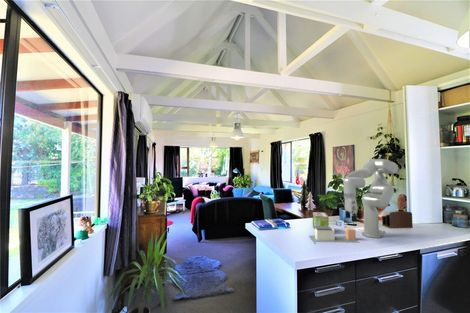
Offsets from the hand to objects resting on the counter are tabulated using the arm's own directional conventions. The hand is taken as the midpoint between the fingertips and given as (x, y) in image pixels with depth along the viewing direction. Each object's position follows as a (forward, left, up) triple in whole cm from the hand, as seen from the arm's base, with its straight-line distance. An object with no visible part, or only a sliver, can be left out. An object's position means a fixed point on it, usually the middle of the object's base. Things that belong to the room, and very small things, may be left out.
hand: (351, 219), depth 162 cm
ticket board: (+13, 0, -15) cm, 19 cm away
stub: (+1, 0, -14) cm, 13 cm away
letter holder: (-55, -39, -15) cm, 69 cm away
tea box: (+16, -19, -15) cm, 29 cm away
